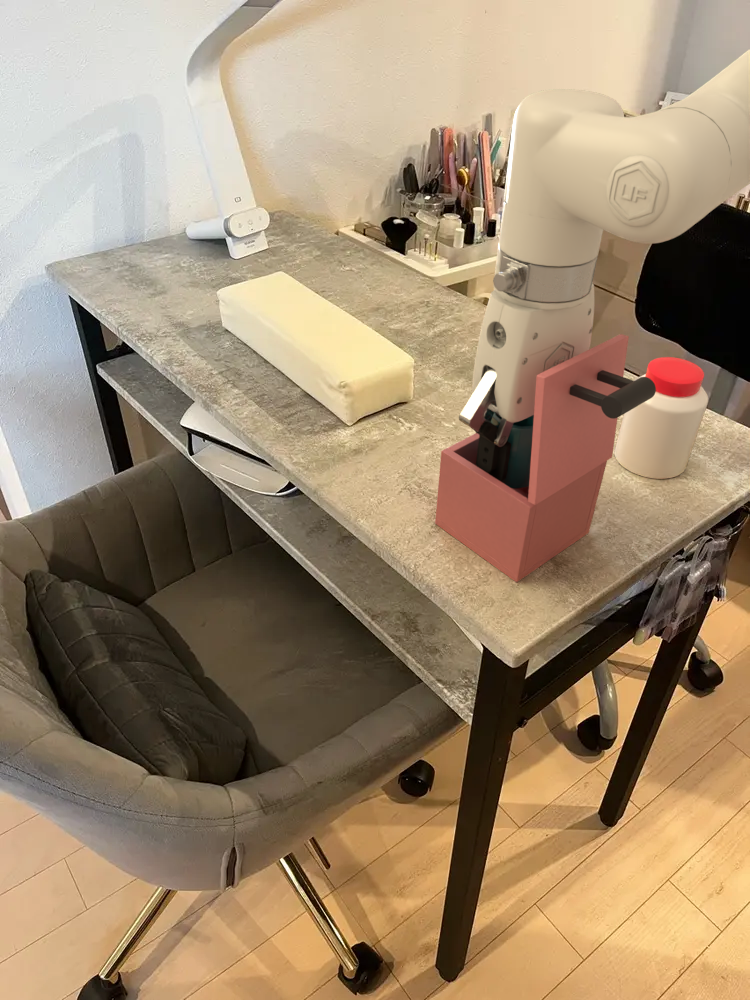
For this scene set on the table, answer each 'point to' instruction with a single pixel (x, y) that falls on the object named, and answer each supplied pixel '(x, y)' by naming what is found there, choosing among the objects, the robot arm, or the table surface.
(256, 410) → the table surface
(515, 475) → the cup
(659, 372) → the pill bottle
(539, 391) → the lid
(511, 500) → the pink box
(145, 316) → the table surface
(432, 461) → the table surface
